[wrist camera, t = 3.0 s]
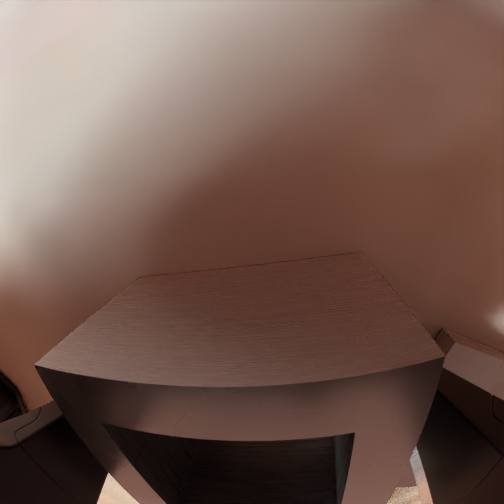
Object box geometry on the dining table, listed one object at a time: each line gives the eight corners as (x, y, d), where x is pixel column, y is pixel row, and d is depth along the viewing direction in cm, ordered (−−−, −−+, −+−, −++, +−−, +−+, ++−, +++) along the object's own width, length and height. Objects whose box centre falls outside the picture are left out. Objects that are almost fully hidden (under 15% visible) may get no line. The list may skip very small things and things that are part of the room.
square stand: (320, 468, 11) (322, 552, 6) (443, 327, 8) (515, 424, 3) (437, 472, 11) (453, 529, 6) (534, 365, 8) (578, 418, 3)
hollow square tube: (191, 423, 10) (156, 517, 6) (139, 277, 9) (33, 364, 4) (356, 416, 9) (374, 522, 5) (361, 252, 8) (445, 356, 3)
